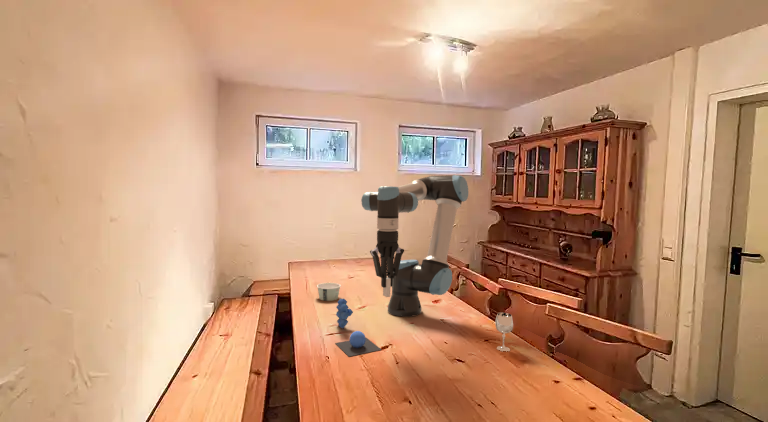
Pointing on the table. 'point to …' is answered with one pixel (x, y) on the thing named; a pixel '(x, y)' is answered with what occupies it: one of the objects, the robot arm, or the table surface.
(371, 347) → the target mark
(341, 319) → the grapes
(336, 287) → the food container
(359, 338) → the ball
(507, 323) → the wineglass
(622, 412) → the table surface
